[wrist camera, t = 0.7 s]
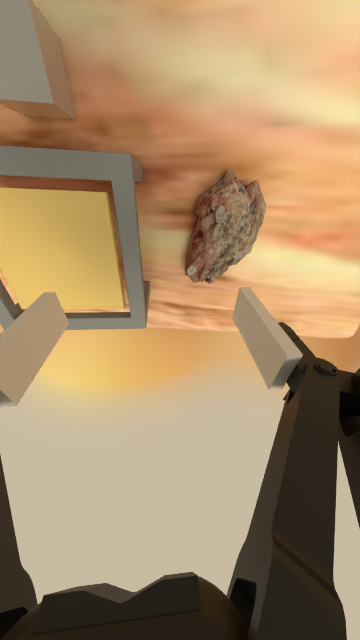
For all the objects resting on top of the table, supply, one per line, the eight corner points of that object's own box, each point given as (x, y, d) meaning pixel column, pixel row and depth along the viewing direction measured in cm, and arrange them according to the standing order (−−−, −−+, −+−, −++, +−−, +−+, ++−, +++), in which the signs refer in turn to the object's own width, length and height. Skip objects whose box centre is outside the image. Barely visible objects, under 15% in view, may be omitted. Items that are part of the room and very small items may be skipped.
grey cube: (-1, 32, 19) (-55, -18, 15) (59, 39, 20) (26, -7, 15) (25, 115, 23) (-11, 98, 18) (75, 119, 23) (53, 103, 19)
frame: (-10, 155, 25) (-127, 137, 15) (142, 164, 26) (130, 153, 16) (47, 290, 37) (5, 330, 27) (150, 290, 38) (145, 328, 28)
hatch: (-35, 185, 19) (-44, 185, 18) (108, 192, 20) (106, 192, 19) (26, 305, 27) (21, 309, 26) (125, 304, 28) (124, 308, 27)
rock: (287, 132, 19) (296, 272, 25) (254, 161, 28) (267, 257, 35) (149, 195, 22) (190, 305, 29) (162, 202, 32) (189, 283, 38)
